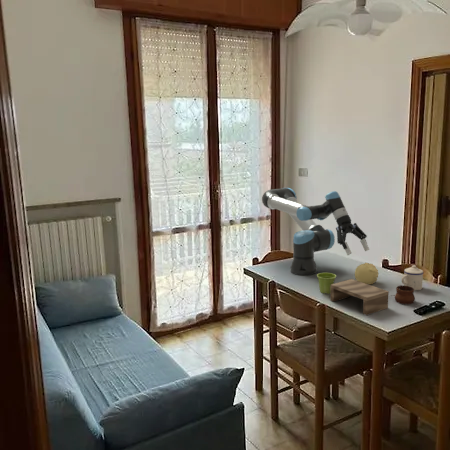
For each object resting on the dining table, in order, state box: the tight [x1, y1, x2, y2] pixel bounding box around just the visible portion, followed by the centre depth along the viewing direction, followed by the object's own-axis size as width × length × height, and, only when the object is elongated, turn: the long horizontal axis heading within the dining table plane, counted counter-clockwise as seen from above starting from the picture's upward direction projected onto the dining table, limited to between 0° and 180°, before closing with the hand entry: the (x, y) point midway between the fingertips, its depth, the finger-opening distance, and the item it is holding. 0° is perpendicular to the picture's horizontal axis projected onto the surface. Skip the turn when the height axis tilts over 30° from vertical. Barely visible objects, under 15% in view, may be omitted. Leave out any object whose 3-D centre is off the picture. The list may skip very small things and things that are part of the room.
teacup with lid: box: [401, 264, 424, 291], centre depth 229 cm, size 12×9×12 cm
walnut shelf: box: [329, 278, 390, 316], centre depth 210 cm, size 22×14×8 cm, turn 32°
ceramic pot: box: [390, 285, 416, 305], centre depth 212 cm, size 18×18×7 cm
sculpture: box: [354, 262, 380, 285], centre depth 239 cm, size 12×12×11 cm
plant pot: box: [316, 272, 337, 295], centre depth 227 cm, size 9×9×9 cm
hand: (358, 252), depth 243 cm, fingers open, 13 cm apart
